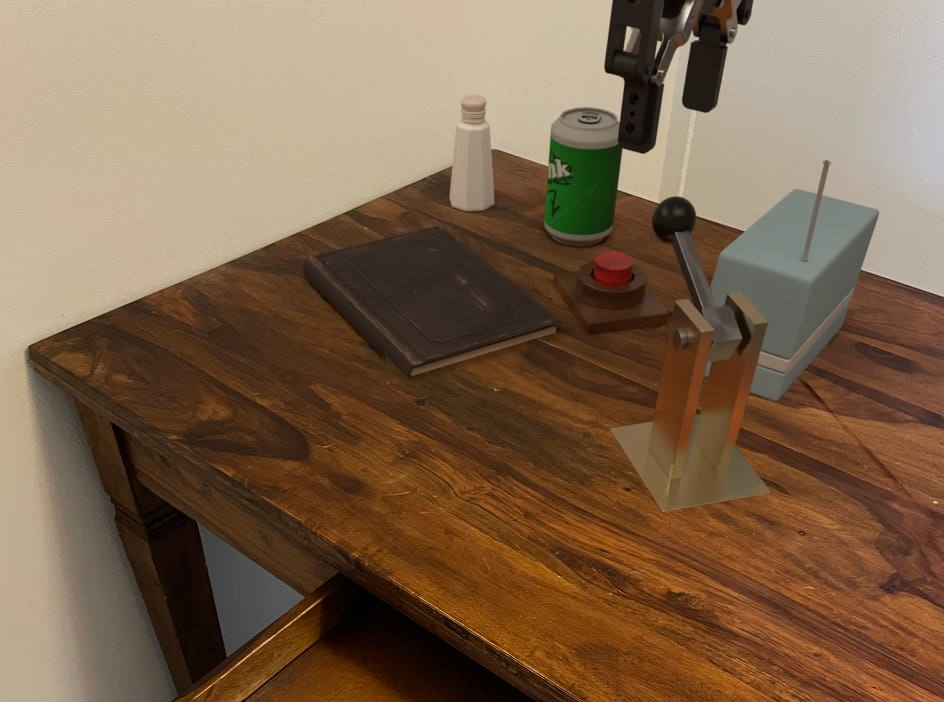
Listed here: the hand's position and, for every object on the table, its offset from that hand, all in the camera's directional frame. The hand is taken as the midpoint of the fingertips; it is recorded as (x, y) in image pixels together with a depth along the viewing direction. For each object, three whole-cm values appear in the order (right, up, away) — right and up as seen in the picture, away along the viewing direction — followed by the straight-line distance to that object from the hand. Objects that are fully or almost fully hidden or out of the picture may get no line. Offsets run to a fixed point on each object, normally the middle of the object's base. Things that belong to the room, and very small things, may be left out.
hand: (668, 128), depth 59 cm
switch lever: (+4, -6, +11) cm, 13 cm away
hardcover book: (-16, 0, +34) cm, 37 cm away
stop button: (+1, +2, +31) cm, 31 cm away
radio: (+15, -6, +28) cm, 33 cm away
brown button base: (+1, 0, +33) cm, 33 cm away
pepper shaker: (-12, +19, +50) cm, 55 cm away
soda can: (0, +12, +45) cm, 47 cm away
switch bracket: (+5, -19, +16) cm, 25 cm away
